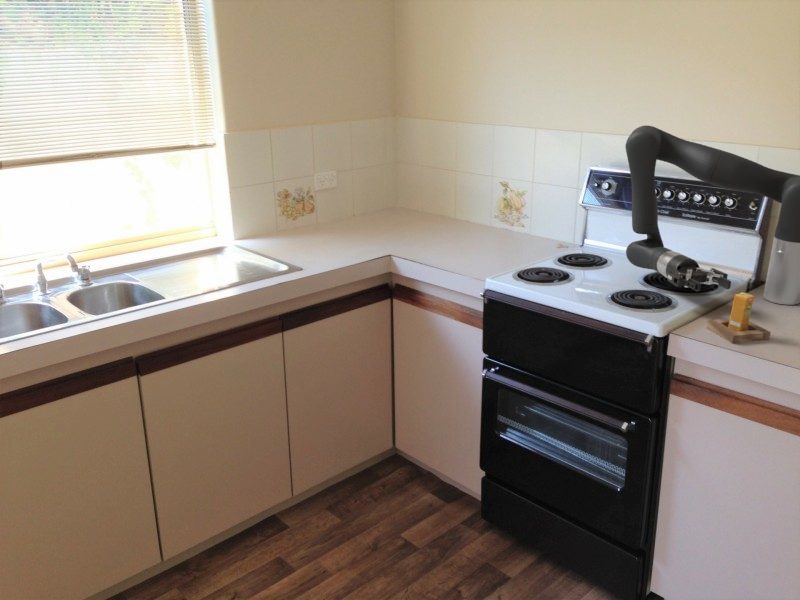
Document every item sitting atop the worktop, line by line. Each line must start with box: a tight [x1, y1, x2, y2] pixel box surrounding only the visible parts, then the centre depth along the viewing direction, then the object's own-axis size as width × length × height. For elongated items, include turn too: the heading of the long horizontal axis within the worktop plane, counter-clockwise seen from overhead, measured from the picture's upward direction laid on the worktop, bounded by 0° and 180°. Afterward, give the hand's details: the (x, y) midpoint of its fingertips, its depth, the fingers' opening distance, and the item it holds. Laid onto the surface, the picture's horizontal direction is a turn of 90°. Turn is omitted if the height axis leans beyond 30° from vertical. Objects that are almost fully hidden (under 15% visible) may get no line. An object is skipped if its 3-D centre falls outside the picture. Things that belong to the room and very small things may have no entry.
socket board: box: [705, 317, 772, 345], centre depth 176 cm, size 10×10×2 cm
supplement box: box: [728, 292, 755, 332], centre depth 175 cm, size 3×3×10 cm
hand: (714, 286), depth 183 cm, fingers open, 8 cm apart
